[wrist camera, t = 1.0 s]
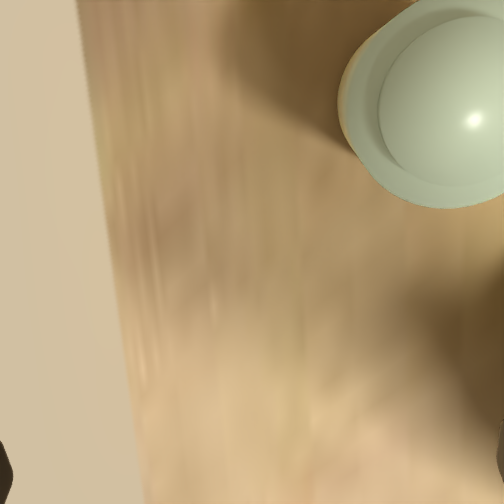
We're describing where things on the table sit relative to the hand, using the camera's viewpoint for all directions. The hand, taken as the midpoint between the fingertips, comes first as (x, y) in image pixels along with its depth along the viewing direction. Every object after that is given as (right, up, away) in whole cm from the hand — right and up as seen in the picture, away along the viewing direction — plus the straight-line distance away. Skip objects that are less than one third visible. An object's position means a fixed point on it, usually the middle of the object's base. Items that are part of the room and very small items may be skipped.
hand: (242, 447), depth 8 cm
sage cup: (+7, +10, +10) cm, 16 cm away
